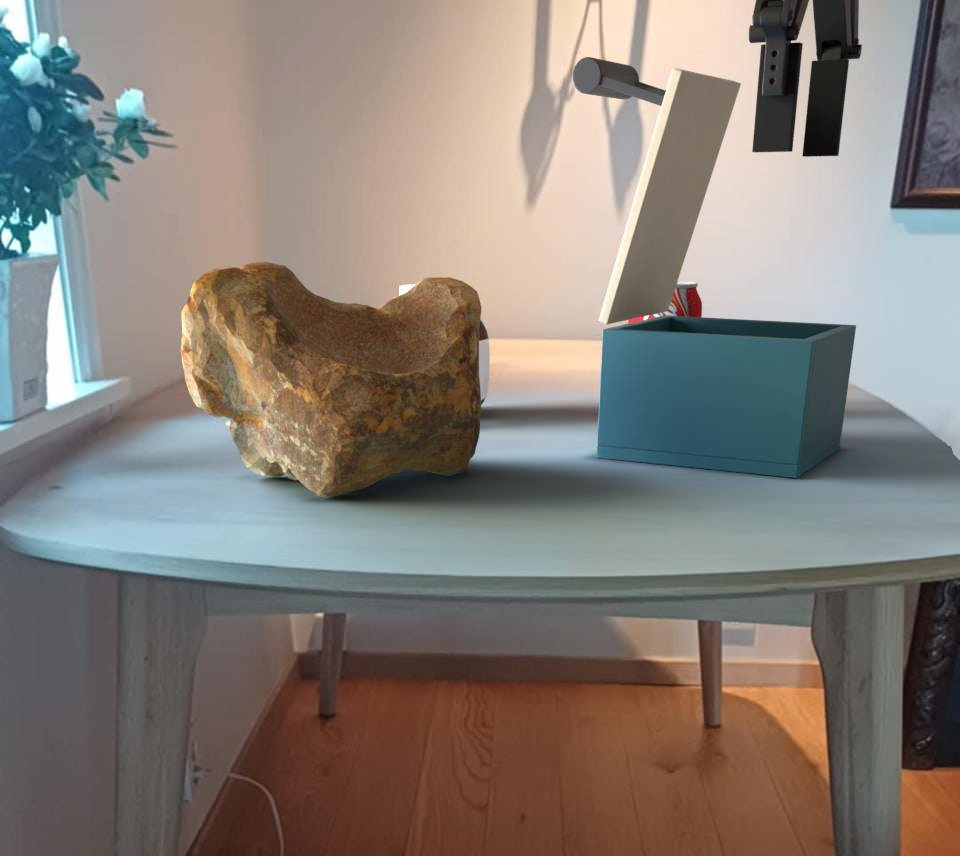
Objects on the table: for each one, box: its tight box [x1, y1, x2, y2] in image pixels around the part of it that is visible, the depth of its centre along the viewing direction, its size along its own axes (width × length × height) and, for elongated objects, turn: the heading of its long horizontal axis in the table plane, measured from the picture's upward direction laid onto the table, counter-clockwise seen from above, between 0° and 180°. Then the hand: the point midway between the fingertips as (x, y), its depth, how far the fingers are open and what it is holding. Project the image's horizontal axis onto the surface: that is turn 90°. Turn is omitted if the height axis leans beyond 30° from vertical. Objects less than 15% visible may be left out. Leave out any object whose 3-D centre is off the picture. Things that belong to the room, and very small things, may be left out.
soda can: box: [627, 280, 703, 324], centre depth 122 cm, size 7×7×12 cm
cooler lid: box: [572, 56, 742, 325], centre depth 102 cm, size 18×14×10 cm
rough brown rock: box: [180, 261, 482, 499], centre depth 92 cm, size 23×17×15 cm
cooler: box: [596, 316, 857, 479], centre depth 105 cm, size 17×14×10 cm
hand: (797, 154), depth 95 cm, fingers open, 13 cm apart
